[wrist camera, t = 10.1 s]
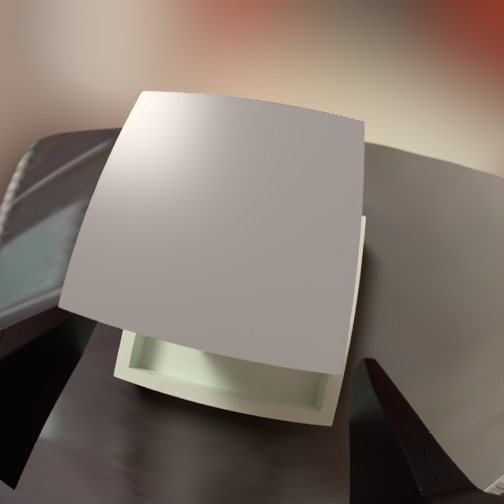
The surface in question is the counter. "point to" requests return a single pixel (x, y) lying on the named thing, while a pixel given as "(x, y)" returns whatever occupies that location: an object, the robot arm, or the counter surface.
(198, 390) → the tray
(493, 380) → the counter surface
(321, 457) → the counter surface
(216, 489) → the counter surface
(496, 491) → the coffee box
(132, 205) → the tall square pillar
